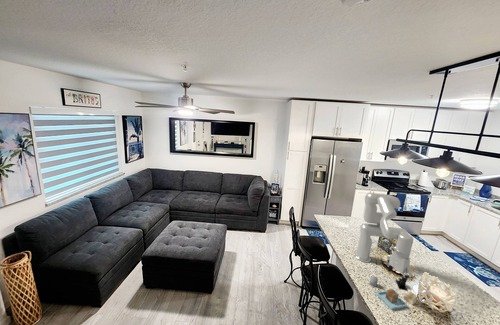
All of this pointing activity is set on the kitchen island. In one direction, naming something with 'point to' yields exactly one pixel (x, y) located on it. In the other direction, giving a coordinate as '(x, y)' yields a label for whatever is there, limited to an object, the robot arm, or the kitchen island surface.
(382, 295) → the tray
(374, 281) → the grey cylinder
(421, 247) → the kitchen island surface
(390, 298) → the walnut block
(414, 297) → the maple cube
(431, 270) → the kitchen island surface
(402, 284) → the black lumpy block
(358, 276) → the kitchen island surface
